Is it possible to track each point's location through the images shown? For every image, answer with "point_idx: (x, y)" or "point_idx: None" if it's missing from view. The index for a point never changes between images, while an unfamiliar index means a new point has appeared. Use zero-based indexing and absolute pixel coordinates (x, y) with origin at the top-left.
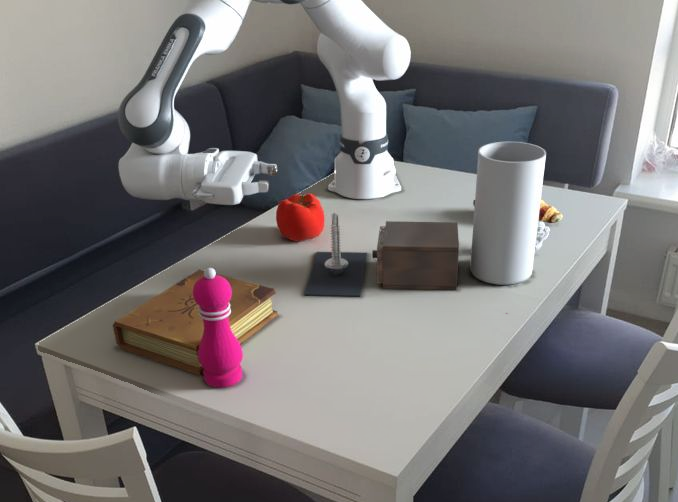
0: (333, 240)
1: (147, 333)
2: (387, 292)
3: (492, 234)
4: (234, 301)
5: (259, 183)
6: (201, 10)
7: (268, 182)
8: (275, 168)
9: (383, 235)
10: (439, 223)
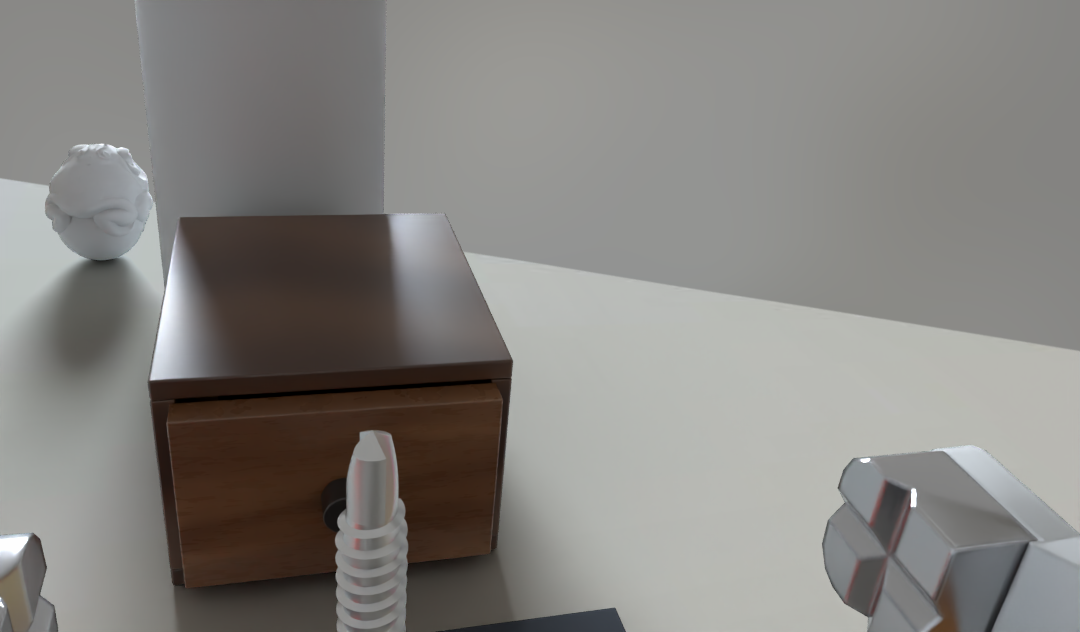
0: (398, 608)
1: None
2: (526, 530)
3: (377, 141)
4: None
5: (1058, 519)
6: None
7: (850, 467)
8: (37, 551)
9: (310, 398)
10: (193, 247)
